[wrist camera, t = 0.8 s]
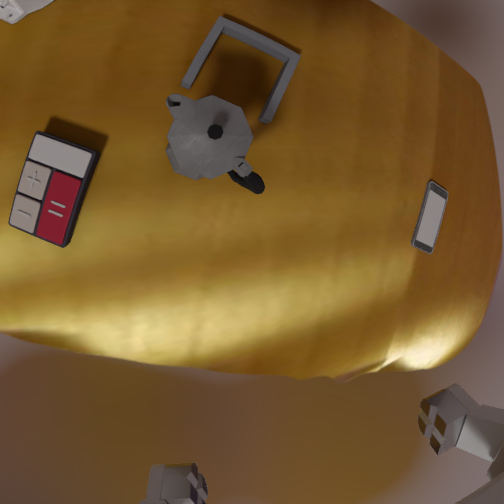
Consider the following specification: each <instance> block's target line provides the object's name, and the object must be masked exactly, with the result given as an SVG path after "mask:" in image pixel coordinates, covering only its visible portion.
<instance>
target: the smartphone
mask: <svg viewBox="0 0 504 504" xmlns="http://www.w3.org/2000/svg"><path fill="white" fill-rule="evenodd" d="M447 198H448V192H447V191H446V190H444V189H443V188H441V187H440V186H438V185H437V184H436V183H434V182H433V181H429V182H428V183H427V187H426V191H425V195H424V199H423V203H422V206H421V210H420V214H419V217H418V221H417V224H416V227H415V231H414V234H413V237H412V241H411V245H412V246H413V247H415V248H418V249H420V250H422V251H424V252H426V253H429V254H431V253H432V252H433V249H434V246H435V242H436V239H437V236H438V232H439V229H440V225H441V221H442V218H443V214H444V210H445V206H446V202H447Z"/></svg>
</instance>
